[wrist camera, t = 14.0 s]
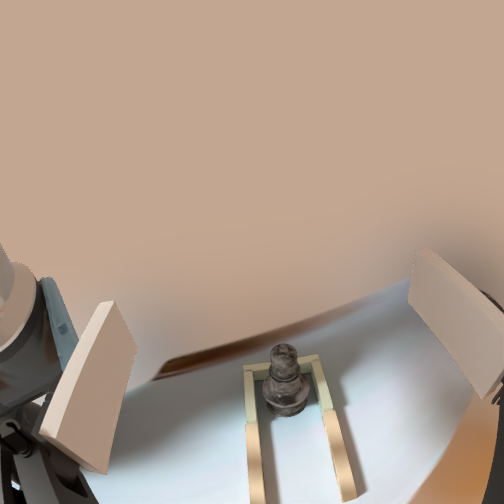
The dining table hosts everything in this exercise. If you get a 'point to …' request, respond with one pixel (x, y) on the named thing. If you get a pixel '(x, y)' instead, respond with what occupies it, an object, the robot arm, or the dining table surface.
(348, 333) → the dining table surface
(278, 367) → the dark stone chess piece
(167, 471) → the dining table surface
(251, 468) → the channel
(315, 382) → the socket
